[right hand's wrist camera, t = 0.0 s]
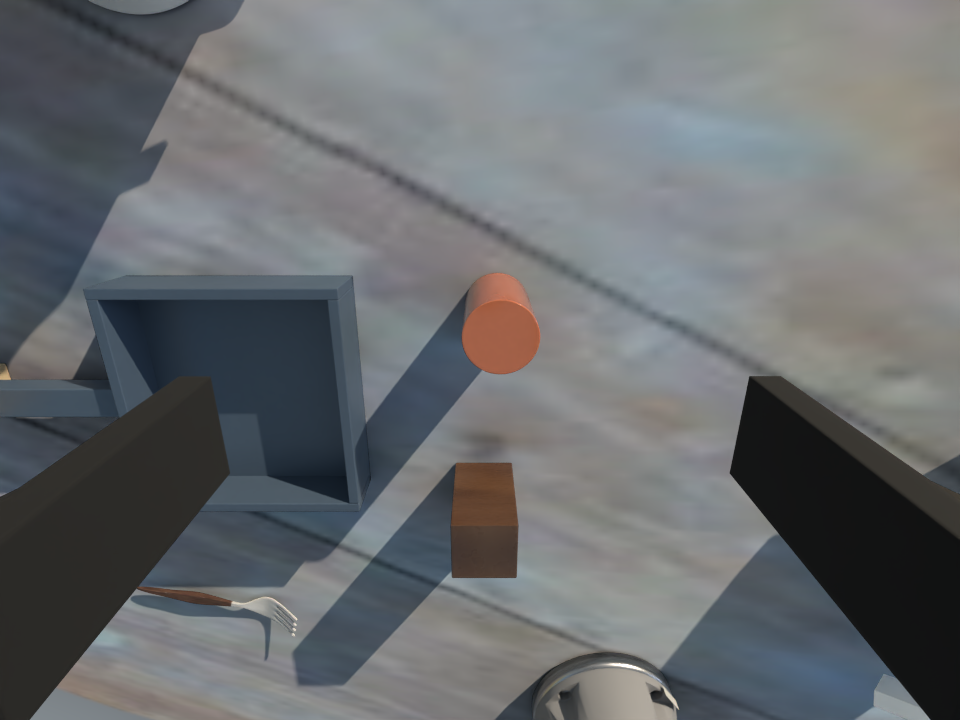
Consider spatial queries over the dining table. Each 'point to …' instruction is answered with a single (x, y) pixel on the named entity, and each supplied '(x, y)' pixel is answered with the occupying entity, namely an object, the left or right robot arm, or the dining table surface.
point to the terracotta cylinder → (499, 325)
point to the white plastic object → (897, 699)
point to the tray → (234, 378)
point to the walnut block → (484, 521)
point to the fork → (229, 603)
